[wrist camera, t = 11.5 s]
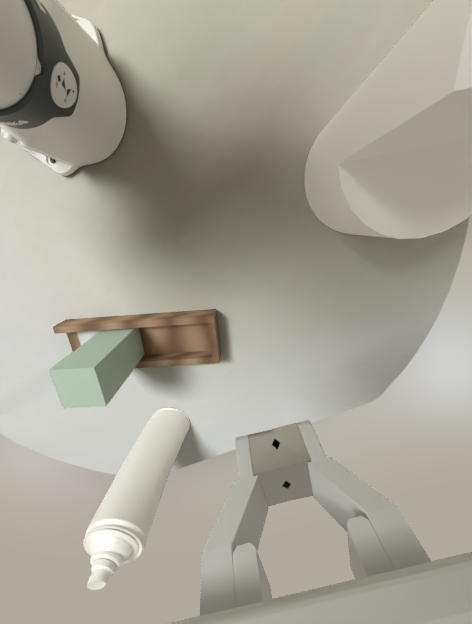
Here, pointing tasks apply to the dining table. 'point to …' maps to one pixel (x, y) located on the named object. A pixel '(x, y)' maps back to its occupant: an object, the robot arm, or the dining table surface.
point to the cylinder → (402, 137)
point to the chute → (158, 335)
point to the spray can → (134, 496)
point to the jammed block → (97, 368)
